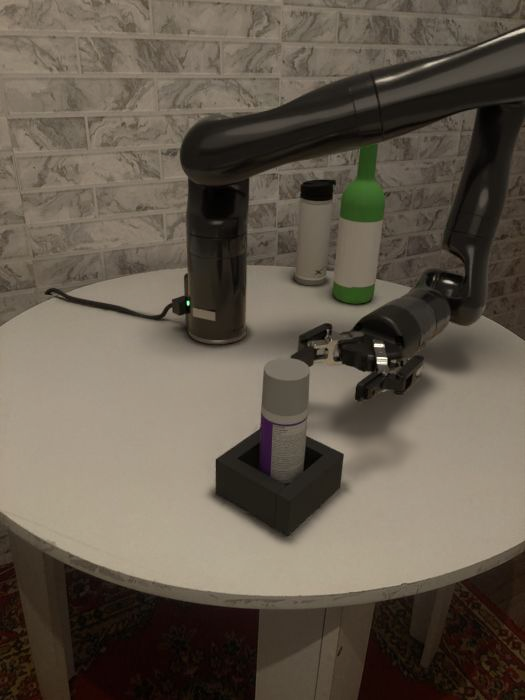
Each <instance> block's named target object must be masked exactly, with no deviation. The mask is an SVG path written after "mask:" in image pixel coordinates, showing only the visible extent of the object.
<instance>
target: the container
mask: <svg viewBox="0 0 525 700" xmlns="http://www.w3.org/2000/svg"><path fill="white" fill-rule="evenodd" d="M262 374H263V376H262V389H261V390H262V392H261V406H260V407H261V408H260V428H259V429H260V458H259V471H261V472H263V473H265V474H266V475H268V476H270V477H272V478H274V479H276V480H277V481H279V482H281V483H283V484H285V485H286V486H287V485H288V484H289V483H291V482H292V481H293V480H294V479H295V478H297V477H298V476H299V475H300V474H301V473H303V469H304V457H305V444H306V436H307V430H308V419H309V418H308V417H309V399H310V397H309V396H310V377H311V376H310V375H311V367H309V366H308V365H307V364H306V363H304V362H302V361H300V360H297V359H293V358H290V357H278V358H274V359H271V360H269V361H267V362H266V363H265V364H264V366H263V373H262Z"/></svg>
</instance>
